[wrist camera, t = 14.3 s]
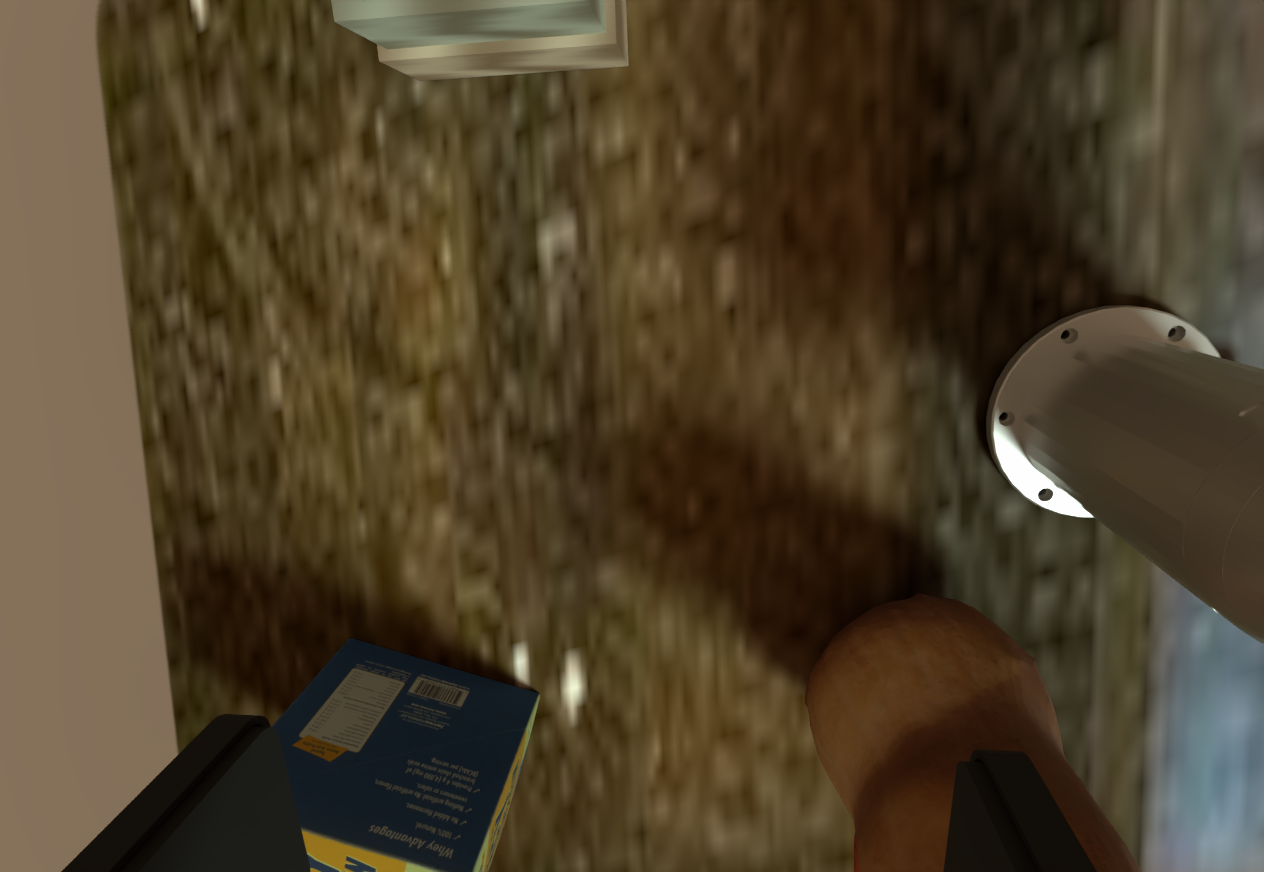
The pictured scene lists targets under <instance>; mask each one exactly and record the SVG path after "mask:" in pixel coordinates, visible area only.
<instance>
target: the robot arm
mask: <svg viewBox="0 0 1264 872" xmlns="http://www.w3.org/2000/svg"><path fill="white" fill-rule="evenodd" d="M1170 329H1171V331H1170ZM1063 331H1066V334H1065V336H1064V337H1062V338H1061V335H1062V333H1063ZM1169 331H1170V333H1169ZM1168 333H1169V334H1168ZM1003 412H1005V415H1004V417H1002V418H999V417H1000V415H1001V414H1002V413H1003ZM986 433H987V441H988V445H989V449H990V453H991V456H992V458H993V460H994V462H995V464H996V466H997V468H998V470H999V472H1000V473H1001V474H1002V475H1003V477H1004V478H1005V479H1006V480H1007V481H1008V482H1009V484H1010V485H1011V486H1012V487H1013V488H1014V489H1016V490H1017V491H1018V492H1019V493H1020V494H1021V495H1023V496H1024V497H1025V498H1027V499H1028V500H1030V501H1031V502H1033V503H1034V504H1036V505H1038V506H1039V507H1042V508H1044V509H1047V510H1050V511H1052V512H1055V513H1058V514H1062V515H1068V516H1073V517H1079V518H1096V519H1097V520H1099V521H1100V522H1101V523H1102V524H1104V525H1105V526H1106V527H1108V528H1109V529H1110V530H1111V531H1113V532H1114V533H1115V534H1117V535H1118V536H1119V537H1120V538H1122V539H1123V540H1124V541H1126V542H1127V543H1128V544H1129V545H1131V546H1132V547H1133V548H1135V549H1136V550H1137V551H1138V552H1140V553H1141V554H1142V555H1144V556H1145V557H1146V558H1148V559H1149V560H1150V561H1151V562H1153V563H1154V564H1155V565H1157V566H1158V567H1159V568H1160V569H1162V570H1163V571H1164V572H1166V573H1167V574H1168V575H1169V576H1171V577H1172V578H1173V579H1175V580H1176V581H1177V582H1178V583H1180V584H1181V585H1182V586H1184V587H1185V588H1186V589H1187V590H1189V591H1190V592H1191V593H1193V594H1194V595H1195V596H1196V597H1198V598H1199V599H1200V600H1202V601H1203V602H1204V603H1206V604H1207V605H1208V606H1209V607H1211V608H1212V609H1213V610H1215V611H1216V612H1218V613H1219V614H1220V615H1222V616H1223V617H1224V618H1226V619H1227V620H1228V621H1230V622H1231V623H1232V624H1234V625H1235V626H1236V627H1237V628H1239V629H1240V630H1242V631H1243V632H1245V633H1246V634H1248V635H1249V636H1251V637H1253V638H1254V639H1256V640H1257V641H1259V642H1261V643H1263V644H1264V369H1260V368H1256V367H1253V366H1249V365H1245V364H1242V363H1238V362H1234V361H1231V360H1227V359H1223V358H1221V356H1220V354H1219V352H1218V351H1217V349H1216V348H1215V347H1214V345H1213V344H1212V343H1211V341H1210V340H1209V339H1208V338H1207V336H1206V335H1204V334H1203V333H1202V332H1201V331H1199V330H1198V329H1197V328H1196V327H1195V326H1193V325H1192V324H1191V323H1189V322H1187V321H1185V320H1183V319H1181V318H1179V317H1177V316H1175V315H1173V314H1170V313H1167V312H1163V311H1159V310H1155V309H1151V308H1146V307H1139V306H1132V305H1115V306H1103V307H1098V308H1093V309H1088V310H1083V311H1081V312H1078V313H1075V314H1073V315H1070V316H1067V317H1065V318H1062V319H1060V320H1058V321H1057V322H1055V323H1053V324H1051V325H1050V326H1048V327H1046V328H1045V329H1043V330H1041V331H1040V332H1039V333H1037V334H1036V335H1035V336H1034V337H1032V338H1031V339H1030V340H1029V341H1028V342H1026V343H1025V344H1024V345H1023V346H1022V347H1021V348H1020V349H1019V350H1018V351H1017V353H1016V354H1015V355H1014V356H1013V357H1012V358H1011V359H1010V360H1009V362H1008V363H1007V365H1006V366H1005V368H1004V370H1003V371H1002V373H1001V374H1000V376H999V378H998V379H997V381H996V384H995V386H994V389H993V392H992V394H991V397H990V399H989V405H988V410H987V416H986ZM1040 490H1042V491H1041V492H1039V491H1040ZM62 872H311V871H310V864H309V860H308V855H307V851H306V847H305V843H304V839H303V834H302V830H301V826H300V822H299V817H298V813H297V809H296V805H295V800H294V796H293V792H292V788H291V784H290V779H289V775H288V771H287V767H286V762H285V758H284V754H283V750H282V745H281V741H280V737H279V734H278V731H277V730H276V729H275V728H273V727H271V726H270V724H269V721H268V720H267V719H266V718H265V717H263V716H255V715H233V714H224V715H221V716H218V717H217V718H215V719H214V720H213V721H212V722H211V723H210V724H209V725H208V726H207V727H206V728H205V729H204V730H203V731H202V732H201V733H200V734H199V735H198V736H197V737H196V738H195V739H194V740H193V741H192V742H191V743H190V744H189V745H188V746H187V747H186V748H185V749H184V750H183V751H182V752H181V753H180V754H179V755H178V756H177V757H176V758H175V759H174V760H173V761H172V762H171V763H170V764H169V765H168V766H167V767H166V768H165V769H164V770H163V771H162V772H161V773H160V774H159V775H158V776H157V777H156V778H155V779H154V780H153V781H152V782H151V783H150V784H149V785H148V786H147V787H146V788H145V789H144V790H143V791H142V792H141V793H140V794H139V795H138V796H137V797H136V798H135V799H134V800H133V801H132V802H131V803H130V804H129V805H128V806H127V807H126V808H125V809H124V810H123V811H122V812H121V813H120V814H119V815H118V816H117V817H116V818H115V819H114V820H113V821H112V822H111V823H110V824H109V825H108V826H107V827H106V828H105V829H104V830H103V831H102V832H101V833H100V834H99V835H98V836H97V837H96V838H95V839H94V840H93V841H92V842H91V843H90V844H89V845H88V846H87V847H86V848H85V849H84V850H83V851H82V852H81V853H80V854H79V855H78V856H77V857H76V858H75V859H74V860H73V861H72V862H71V863H70V864H69V865H68V866H67V867H66V868H65V869H64V870H63V871H62ZM943 872H1097V871H1096V869H1095V868H1094V866H1093V864H1092V863H1091V861H1090V859H1089V857H1088V856H1087V854H1086V852H1085V851H1084V849H1083V847H1082V846H1081V844H1080V842H1079V841H1078V839H1077V837H1076V835H1075V834H1074V832H1073V830H1072V829H1071V827H1070V825H1069V824H1068V822H1067V820H1066V819H1065V817H1064V815H1063V813H1062V812H1061V810H1060V808H1059V807H1058V805H1057V803H1056V802H1055V800H1054V798H1053V797H1052V795H1051V793H1050V791H1049V790H1048V788H1047V786H1046V785H1045V783H1044V781H1043V780H1042V778H1041V776H1040V775H1039V773H1038V771H1037V769H1036V768H1035V766H1034V764H1033V763H1032V761H1031V760H1030V758H1029V757H1028V756H1027V754H1025V753H1024V752H1022V751H1002V750H980V749H977V750H974V751H973V753H972V754H971V758H970V761H959V762H958V764H957V768H956V774H955V782H954V790H953V799H952V807H951V815H950V823H949V831H948V839H947V847H946V855H945V863H944V871H943Z"/></svg>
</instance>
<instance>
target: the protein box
mask: <svg viewBox="0 0 1264 872" xmlns="http://www.w3.org/2000/svg"><path fill="white" fill-rule="evenodd" d="M539 698H540V694H539V693H536V692H533V691H529V690H526V689H523V688H519V687H516V686H512V685H509V684H505V683H502V682H498V681H495V680H492V679H488V678H485V677H481V676H478V675H475V674H471V673H468V672H464V671H461V670H458V669H454V668H451V667H448V666H444V665H441V664H438V663H434V662H431V661H427V660H424V659H421V658H417V657H414V656H410V655H407V654H404V653H400V652H397V651H393V650H390V649H387V648H383V647H380V646H377V645H373V644H370V643H367V642H363V641H360V640H356V639H352V638H350V639H348V640H347V641H346V642H345V644H344V645H343V646H342V647H341V648H340V649H339V650H338V651H337V653H336V654H335V655H334V656H333V657H332V658H331V660H330V661H329V662H328V663H327V664H326V665H325V666H324V668H323V669H322V670H321V671H320V672H319V673H318V675H317V676H316V677H315V678H314V679H313V680H312V681H311V683H310V684H309V685H308V686H307V687H306V688H305V689H304V690H303V692H302V693H301V694H300V695H299V696H298V697H297V698H296V700H295V701H294V702H293V703H292V704H291V705H290V706H289V708H288V709H287V710H286V711H285V712H284V713H283V715H282V716H281V717H280V718H279V719H278V720H277V721H276V723H275V724H274V725H273V726H272V727H273V728H275V729H276V730H277V731H278V734H279V737H280V741H281V745H282V750H283V754H284V758H285V762H286V767H287V771H288V775H289V779H290V784H291V788H292V792H293V796H294V800H295V805H296V809H297V813H298V817H299V822H300V826H301V830H302V834H303V839H304V843H305V847H306V851H307V855H308V860H309V864H310V871H311V872H488V871H489V868H490V865H491V862H492V859H493V856H494V853H495V850H496V847H497V844H498V842H499V839H500V836H501V833H502V830H503V827H504V824H505V822H506V819H507V816H508V813H509V810H510V807H511V804H512V801H513V798H514V794H515V790H516V786H517V783H518V779H519V775H520V772H521V768H522V765H523V761H524V757H525V753H526V750H527V746H528V742H529V738H530V734H531V730H532V726H533V722H534V718H535V714H536V711H537V706H538V702H539Z"/></svg>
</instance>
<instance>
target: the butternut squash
mask: <svg viewBox="0 0 1264 872" xmlns="http://www.w3.org/2000/svg"><path fill="white" fill-rule="evenodd" d="M805 704H806V706H807V707H808V711H809V717H810V727H811V730H812V734H813V738H814V742H815V745H816V749H817V752H818V755H819V757H820V759H821V762H822V764H823V766H824V768H825V770H826V772H827V774H828V776H829V778H830V780H831V781H832V783H833V785H834V787H835V788H836V790H837V792H838V793H839V795H840V797H841V799H842V801H843V803H844V804H845V806H846V808H847V809H848V811H849V813H850V815H851V816H852V818H853V820H854V824H855V837H854V872H943V871H944V863H945V855H946V847H947V839H948V831H949V823H950V815H951V807H952V799H953V790H954V782H955V774H956V768H957V764H958V762H959V761H970V758H971V754H972V753H973V751H974V750H977V749H980V750H1002V751H1022V752H1024V753H1025V754H1027V756H1028V757H1029V758H1030V760H1031V761H1032V763H1033V764H1034V766H1035V768H1036V769H1037V771H1038V773H1039V775H1040V776H1041V778H1042V780H1043V781H1044V783H1045V785H1046V786H1047V788H1048V790H1049V791H1050V793H1051V795H1052V797H1053V798H1054V800H1055V802H1056V803H1057V805H1058V807H1059V808H1060V810H1061V812H1062V813H1063V815H1064V817H1065V819H1066V820H1067V822H1068V824H1069V825H1070V827H1071V829H1072V830H1073V832H1074V834H1075V835H1076V837H1077V839H1078V841H1079V842H1080V844H1081V846H1082V847H1083V849H1084V851H1085V852H1086V854H1087V856H1088V857H1089V859H1090V861H1091V863H1092V864H1093V866H1094V868H1095V869H1096V871H1097V872H1141V871H1140V869H1139V867H1138V865H1137V864H1136V862H1135V860H1134V858H1133V857H1132V855H1131V853H1130V851H1129V850H1128V848H1127V846H1126V844H1125V843H1124V841H1123V840H1122V839H1121V837H1120V836H1119V835H1118V833H1117V832H1116V831H1115V829H1114V828H1113V826H1112V825H1111V824H1110V822H1109V821H1108V819H1107V818H1106V816H1105V815H1104V814H1103V812H1102V811H1101V809H1100V808H1099V806H1098V805H1097V803H1096V802H1095V800H1094V799H1093V797H1092V796H1091V794H1090V793H1089V791H1088V790H1087V788H1086V787H1085V785H1084V784H1083V782H1082V781H1081V780H1080V778H1079V777H1078V776H1077V774H1076V773H1075V772H1074V770H1073V769H1072V767H1071V766H1070V764H1069V763H1068V761H1067V759H1066V758H1065V756H1064V753H1063V748H1062V743H1061V737H1060V732H1059V727H1058V722H1057V718H1056V714H1055V710H1054V706H1053V704H1052V701H1051V699H1050V696H1049V693H1048V691H1047V689H1046V686H1045V684H1044V682H1043V679H1042V677H1041V675H1040V673H1039V671H1038V669H1037V666H1036V663H1035V658H1034V657H1032V656H1030V655H1029V654H1027V653H1026V652H1025V651H1024V650H1023V649H1022V648H1021V647H1020V646H1019V645H1018V644H1017V643H1016V642H1015V641H1014V640H1013V639H1012V638H1011V637H1010V636H1008V635H1007V634H1006V633H1005V632H1004V631H1003V630H1002V629H1000V628H999V627H998V626H997V625H996V624H994V623H993V622H992V621H990V620H989V619H988V618H986V617H985V616H984V615H983V614H981V613H980V612H979V611H977V610H976V609H974V608H973V607H971V606H968V605H966V604H964V603H962V602H960V601H957V600H953V599H946V598H940V597H935V596H930V595H926V594H920V593H917V594H916V595H915V596H913V597H911V598H909V599H904V600H899V601H893V602H887V603H883V604H879V605H877V606H876V607H874V608H872V609H870V610H868V611H867V612H865V613H863V614H862V615H860V616H859V617H858V618H856V619H855V620H853V621H852V622H850V623H849V624H848V625H847V626H845V627H844V628H843V629H842V630H841V631H839V632H838V633H837V634H836V635H835V636H834V637H833V638H832V640H831V641H830V642H829V644H828V645H827V647H826V648H825V650H824V652H823V653H822V655H821V656H820V658H819V659H818V660H817V662H816V663H815V664H814V666H813V668H812V671H811V674H810V677H809V680H808V683H807V687H806V694H805Z"/></svg>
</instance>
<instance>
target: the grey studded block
mask: <svg viewBox="0 0 1264 872" xmlns="http://www.w3.org/2000/svg"><path fill="white" fill-rule="evenodd" d="M331 2H332V8H333V15H334V22H336V23H338V24H340V25H342V26H344V27H346V28H348V29H349V30H351V31H353V32H355V33H357V34H359V35H361V36H363V37H365V38H367V39H368V40H370V41H372V42H374V43H376V44H377V48H378V55H379V61H380V62H382V63H384V64H386V65H388V66H390V67H392V68H394V69H396V70H398V71H400V72H403V73H405V74H407V75H409V76H411V77H413V78H415V79H417V80H419V81H424V80H439V79H453V78H467V77H481V76H495V75H510V74H524V73H538V72H552V71H566V70H580V69H595V68H609V67H623V66H629V64H628V38H627V11H626V0H331Z"/></svg>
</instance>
